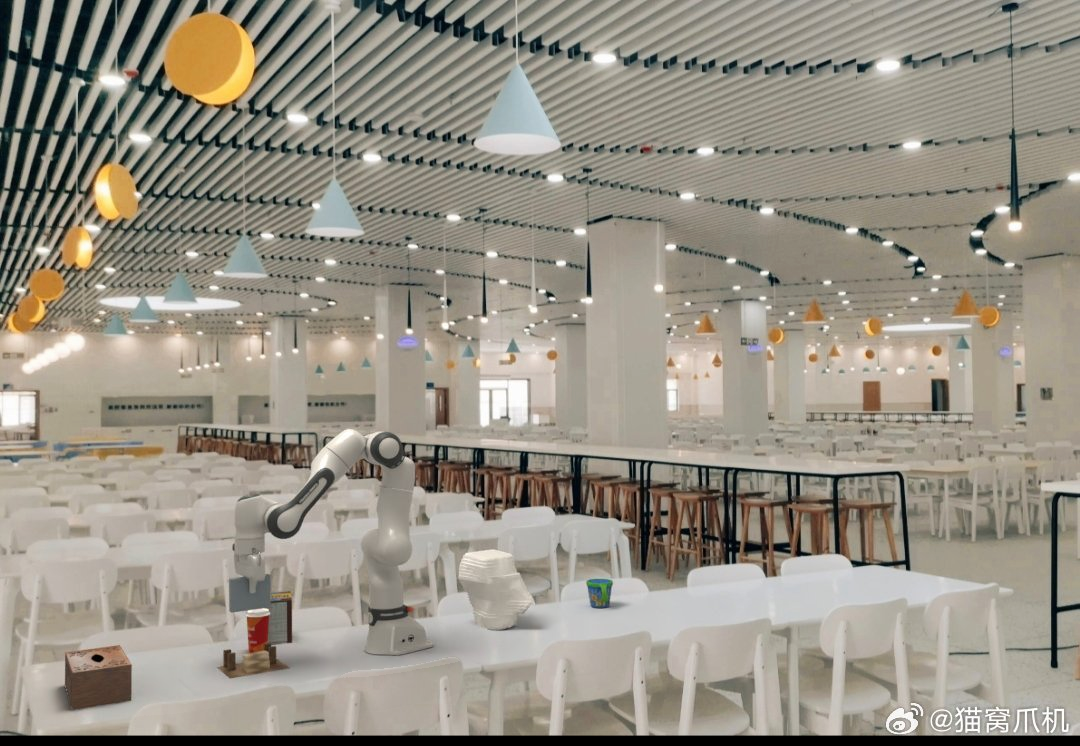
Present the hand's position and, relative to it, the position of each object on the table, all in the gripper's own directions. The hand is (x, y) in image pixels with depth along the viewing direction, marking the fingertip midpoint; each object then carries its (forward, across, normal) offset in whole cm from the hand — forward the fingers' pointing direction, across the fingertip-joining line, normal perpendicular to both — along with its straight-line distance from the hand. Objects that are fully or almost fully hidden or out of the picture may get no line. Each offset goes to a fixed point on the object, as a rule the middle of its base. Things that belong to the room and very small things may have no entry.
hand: (250, 591), depth 279 cm
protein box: (+24, +28, -17) cm, 40 cm away
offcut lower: (+22, -7, 0) cm, 23 cm away
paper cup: (+23, +15, -7) cm, 29 cm away
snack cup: (+24, +3, -139) cm, 141 cm away
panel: (+5, 0, 0) cm, 5 cm away
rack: (+23, -4, 0) cm, 23 cm away
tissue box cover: (+23, 0, +43) cm, 49 cm away
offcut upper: (+20, -7, 0) cm, 21 cm away
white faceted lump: (+24, +1, -88) cm, 91 cm away
